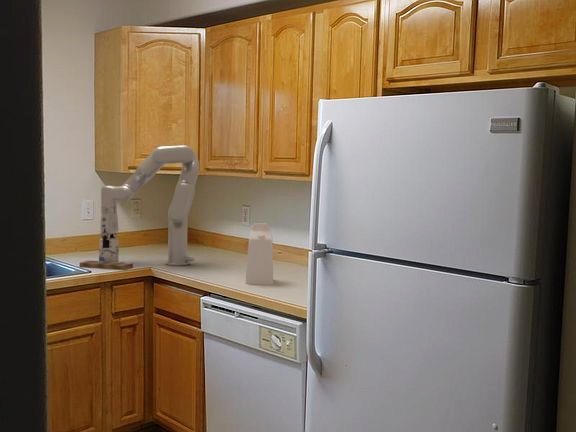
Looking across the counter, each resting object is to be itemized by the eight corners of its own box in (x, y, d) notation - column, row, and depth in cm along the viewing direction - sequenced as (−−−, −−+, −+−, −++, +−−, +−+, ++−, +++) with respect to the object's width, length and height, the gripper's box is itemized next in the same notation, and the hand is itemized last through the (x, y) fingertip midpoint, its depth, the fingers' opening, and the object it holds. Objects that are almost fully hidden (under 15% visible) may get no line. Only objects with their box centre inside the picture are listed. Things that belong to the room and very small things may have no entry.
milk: (272, 279, 274) (274, 222, 271) (273, 284, 262) (274, 225, 260) (246, 278, 273) (247, 221, 271) (245, 284, 262) (246, 224, 260)
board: (133, 267, 294) (133, 263, 294) (125, 270, 286) (125, 265, 286) (88, 264, 299) (88, 260, 299) (79, 266, 291) (79, 262, 291)
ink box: (98, 262, 299) (98, 238, 298) (104, 260, 304) (104, 237, 303) (113, 263, 297) (113, 239, 296) (119, 261, 302) (119, 238, 301)
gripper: (107, 212, 289) (107, 249, 291) (124, 209, 306) (124, 245, 307) (93, 211, 291) (93, 248, 292) (110, 209, 307) (110, 244, 309)
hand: (108, 246), depth 300 cm, fingers closed on ink box, 5 cm apart
